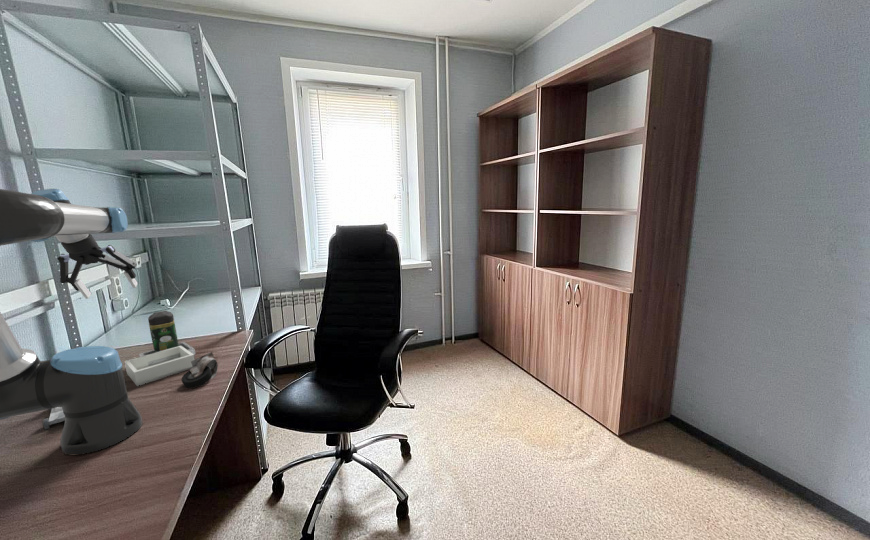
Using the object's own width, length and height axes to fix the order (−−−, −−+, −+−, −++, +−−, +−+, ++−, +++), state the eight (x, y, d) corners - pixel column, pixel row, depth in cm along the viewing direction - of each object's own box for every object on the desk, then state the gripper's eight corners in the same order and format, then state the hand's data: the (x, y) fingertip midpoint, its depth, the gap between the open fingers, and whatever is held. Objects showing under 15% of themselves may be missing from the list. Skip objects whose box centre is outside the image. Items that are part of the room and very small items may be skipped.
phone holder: (97, 385, 96) (35, 402, 88) (104, 417, 98) (43, 436, 90) (98, 365, 109) (43, 378, 101) (104, 394, 111) (51, 409, 103)
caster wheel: (190, 397, 111) (182, 383, 118) (227, 377, 119) (217, 365, 125) (182, 381, 108) (174, 368, 115) (221, 362, 116) (211, 351, 122)
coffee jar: (155, 356, 138) (147, 312, 135) (179, 350, 143) (172, 308, 140) (155, 364, 131) (146, 317, 128) (181, 358, 136) (173, 313, 133)
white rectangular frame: (195, 354, 139) (194, 348, 138) (148, 368, 127) (147, 362, 127) (185, 347, 147) (184, 341, 147) (140, 359, 136) (139, 353, 135)
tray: (196, 367, 127) (193, 354, 126) (137, 386, 114) (134, 372, 113) (183, 357, 136) (180, 345, 136) (127, 374, 123) (124, 361, 123)
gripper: (126, 225, 116) (156, 276, 128) (30, 241, 108) (72, 294, 119) (119, 234, 110) (152, 287, 122) (18, 252, 102) (63, 307, 114)
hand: (112, 291), depth 121 cm, fingers open, 13 cm apart
